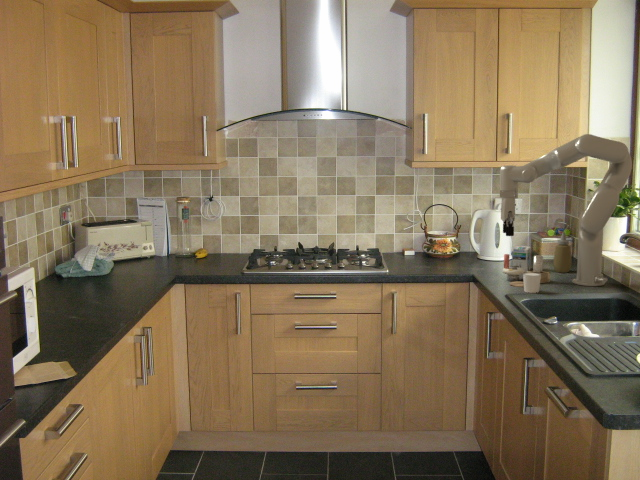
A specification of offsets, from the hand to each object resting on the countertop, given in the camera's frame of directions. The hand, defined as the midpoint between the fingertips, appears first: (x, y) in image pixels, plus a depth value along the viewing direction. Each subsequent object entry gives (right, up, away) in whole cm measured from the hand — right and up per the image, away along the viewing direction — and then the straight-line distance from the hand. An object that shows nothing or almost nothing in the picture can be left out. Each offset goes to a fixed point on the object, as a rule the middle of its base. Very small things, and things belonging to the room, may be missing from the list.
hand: (508, 234), depth 308 cm
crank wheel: (+2, -16, 0) cm, 17 cm away
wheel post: (+2, -20, +1) cm, 20 cm away
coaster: (+3, -21, -9) cm, 23 cm away
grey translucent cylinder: (+12, -20, -2) cm, 23 cm away
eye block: (+12, -20, -2) cm, 23 cm away
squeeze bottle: (+29, -17, +18) cm, 38 cm away
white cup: (+4, -23, -21) cm, 31 cm away
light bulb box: (+12, -17, +23) cm, 31 cm away
